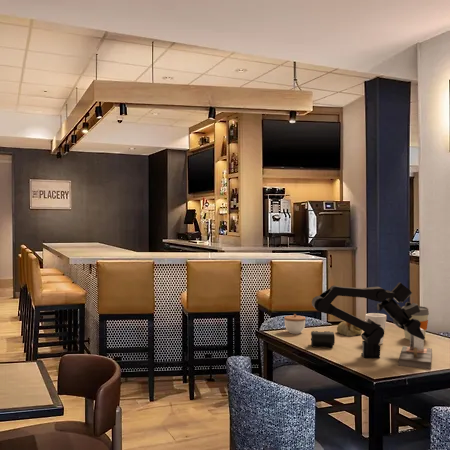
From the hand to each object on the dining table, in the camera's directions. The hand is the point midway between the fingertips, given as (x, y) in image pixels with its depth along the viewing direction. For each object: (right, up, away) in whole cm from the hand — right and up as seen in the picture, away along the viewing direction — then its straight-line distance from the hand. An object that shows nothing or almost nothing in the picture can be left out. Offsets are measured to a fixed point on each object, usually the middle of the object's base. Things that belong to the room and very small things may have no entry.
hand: (420, 336), depth 232 cm
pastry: (-20, -8, +46) cm, 50 cm away
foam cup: (-12, -8, +25) cm, 29 cm away
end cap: (-38, -8, +17) cm, 43 cm away
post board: (-4, -8, -5) cm, 11 cm away
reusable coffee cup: (+9, -8, +34) cm, 36 cm away
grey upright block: (-1, -6, 0) cm, 6 cm away
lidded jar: (-47, -8, +47) cm, 67 cm away
